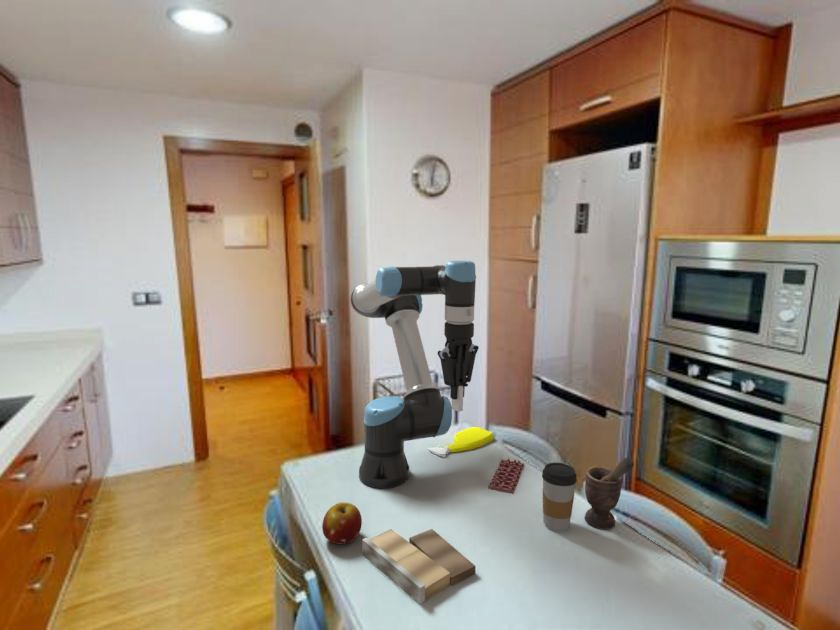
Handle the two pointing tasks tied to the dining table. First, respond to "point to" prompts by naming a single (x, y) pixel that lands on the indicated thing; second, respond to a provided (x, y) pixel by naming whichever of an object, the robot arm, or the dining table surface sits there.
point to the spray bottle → (465, 441)
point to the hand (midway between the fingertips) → (457, 409)
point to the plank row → (406, 565)
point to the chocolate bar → (506, 476)
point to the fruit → (342, 523)
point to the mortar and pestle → (604, 492)
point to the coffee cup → (558, 495)
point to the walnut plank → (444, 555)
